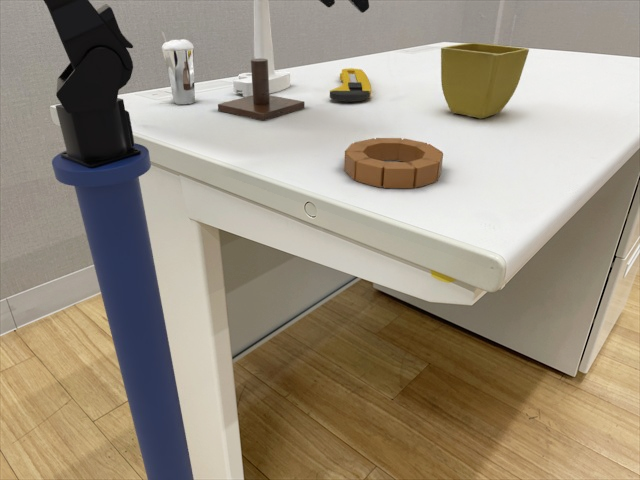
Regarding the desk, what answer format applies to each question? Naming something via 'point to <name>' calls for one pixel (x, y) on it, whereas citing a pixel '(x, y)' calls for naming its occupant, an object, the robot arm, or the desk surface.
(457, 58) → the flower pot
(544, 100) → the desk surface
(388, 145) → the brick ring
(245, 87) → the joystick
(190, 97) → the milkshake
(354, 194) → the desk surface
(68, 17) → the robot arm
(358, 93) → the utility knife
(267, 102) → the peg
